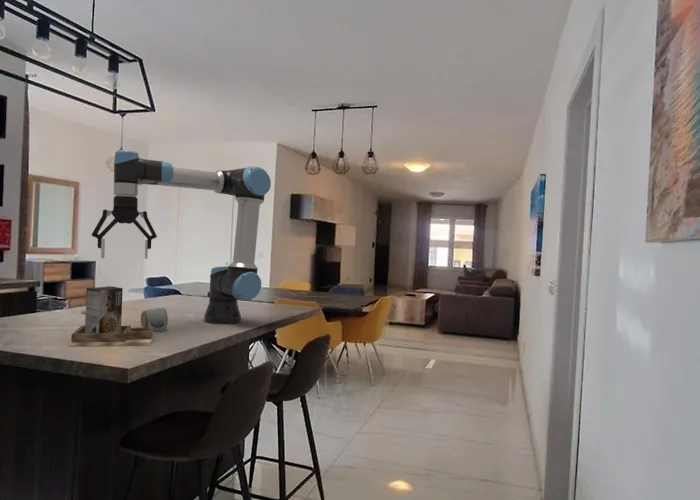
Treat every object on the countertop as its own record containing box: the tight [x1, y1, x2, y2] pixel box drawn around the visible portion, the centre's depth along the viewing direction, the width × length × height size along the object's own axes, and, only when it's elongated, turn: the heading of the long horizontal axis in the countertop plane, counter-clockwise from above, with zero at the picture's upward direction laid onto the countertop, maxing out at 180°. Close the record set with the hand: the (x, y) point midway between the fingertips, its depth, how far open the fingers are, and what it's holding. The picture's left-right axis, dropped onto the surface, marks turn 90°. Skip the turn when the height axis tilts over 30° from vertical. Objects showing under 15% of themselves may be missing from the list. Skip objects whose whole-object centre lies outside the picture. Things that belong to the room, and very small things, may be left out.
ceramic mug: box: [140, 307, 169, 333], centre depth 186 cm, size 11×8×8 cm
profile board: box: [68, 325, 155, 347], centre depth 162 cm, size 23×17×4 cm
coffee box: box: [84, 285, 124, 334], centre depth 161 cm, size 9×6×16 cm
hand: (124, 258), depth 171 cm, fingers open, 13 cm apart
